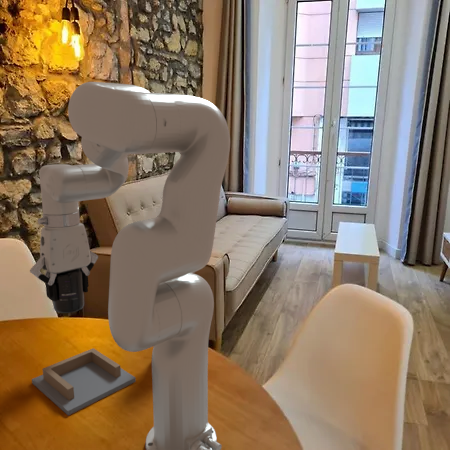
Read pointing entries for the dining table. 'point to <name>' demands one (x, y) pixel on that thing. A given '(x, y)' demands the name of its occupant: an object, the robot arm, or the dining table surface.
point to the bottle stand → (82, 380)
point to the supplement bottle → (69, 291)
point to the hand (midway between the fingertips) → (68, 294)
